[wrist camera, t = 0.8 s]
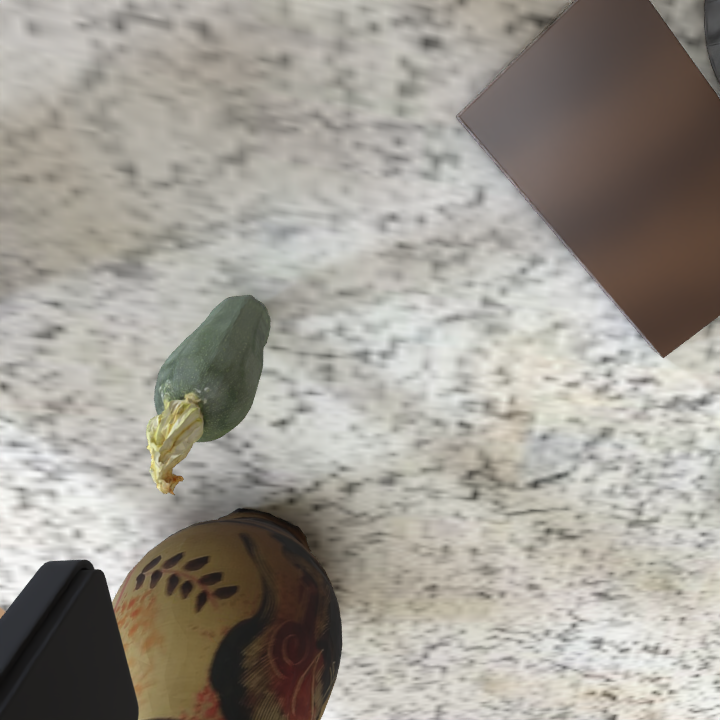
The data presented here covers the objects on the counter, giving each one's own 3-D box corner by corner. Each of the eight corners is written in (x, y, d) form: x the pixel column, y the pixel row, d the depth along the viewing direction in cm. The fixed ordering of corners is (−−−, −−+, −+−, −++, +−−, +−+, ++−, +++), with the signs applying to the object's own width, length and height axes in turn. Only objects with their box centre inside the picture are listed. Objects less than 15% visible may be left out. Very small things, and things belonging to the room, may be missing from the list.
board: (455, 116, 37) (458, 116, 36) (610, -35, 34) (620, -42, 33) (653, 350, 42) (663, 358, 40) (804, 235, 39) (820, 239, 37)
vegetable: (231, 268, 41) (105, 391, 22) (297, 283, 41) (228, 419, 22) (221, 332, 42) (95, 498, 23) (285, 346, 42) (210, 522, 24)
